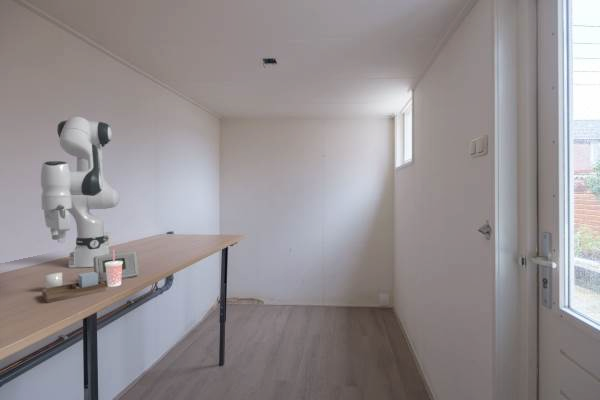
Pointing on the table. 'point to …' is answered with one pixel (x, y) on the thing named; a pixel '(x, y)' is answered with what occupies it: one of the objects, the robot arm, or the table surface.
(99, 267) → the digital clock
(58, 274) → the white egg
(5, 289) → the table surface
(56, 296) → the organiser base
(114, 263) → the beverage cup
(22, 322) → the table surface
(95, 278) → the blue cube
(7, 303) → the table surface
